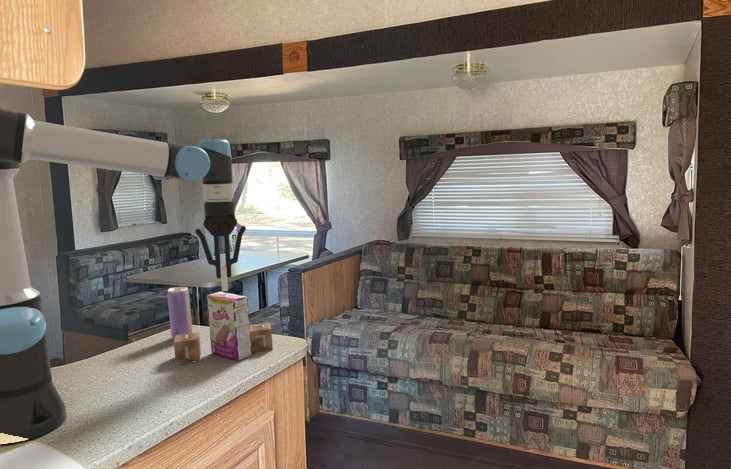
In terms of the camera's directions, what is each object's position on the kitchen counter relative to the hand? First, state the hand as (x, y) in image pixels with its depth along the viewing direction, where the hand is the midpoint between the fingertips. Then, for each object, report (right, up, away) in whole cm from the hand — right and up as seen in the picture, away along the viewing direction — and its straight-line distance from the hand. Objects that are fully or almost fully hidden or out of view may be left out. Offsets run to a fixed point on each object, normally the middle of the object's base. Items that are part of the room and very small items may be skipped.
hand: (224, 289), depth 143 cm
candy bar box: (+1, -18, +3) cm, 18 cm away
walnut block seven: (+8, -17, +8) cm, 20 cm away
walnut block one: (-10, -18, +1) cm, 21 cm away
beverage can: (-17, -16, +18) cm, 30 cm away
